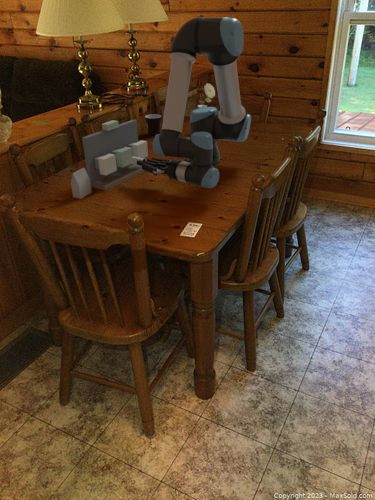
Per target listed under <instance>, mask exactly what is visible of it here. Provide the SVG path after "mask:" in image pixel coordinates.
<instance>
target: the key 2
mask: <svg viewBox="0 0 375 500" xmlns="http://www.w3.org/2000/svg"><path fill="white" fill-rule="evenodd" d="M127 147H130V148H132V155H133V156H135V157H139V158H144V159H146V158H147V157H149V151H148V148H149V147H148V141H147V140H138V142H136V143H135V142H131V143H129V144H127Z"/></svg>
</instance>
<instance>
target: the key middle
mask: <svg viewBox="0 0 375 500" xmlns="http://www.w3.org/2000/svg"><path fill="white" fill-rule="evenodd" d="M111 154H114V155H115V157H116V162H117V166H118V167H122V168H123V167H125V166H128V165H130V164H132V158H131V157H133V156H132V148H130V147H124V148H122V149H118V148H117V149H114V150H112V151H111Z"/></svg>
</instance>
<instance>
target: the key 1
mask: <svg viewBox="0 0 375 500" xmlns="http://www.w3.org/2000/svg"><path fill="white" fill-rule="evenodd" d="M93 159H94V166H95V169H99V170H100V174H102V175H108V174H110V173H112V172H114V171H117V166H116V157H115V155H114V154H107V155H105V156H101V155H99V156H97V157H94V158H93Z"/></svg>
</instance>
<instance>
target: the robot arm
mask: <svg viewBox="0 0 375 500" xmlns="http://www.w3.org/2000/svg"><path fill="white" fill-rule="evenodd" d="M244 39H245V35H244V28H243V26H242V23H241V22H240V21H239V19H237V18H235V17H228V16H224V17H199V16H198V17H193V18H190V19H189V20H187V21H186V22H185V23H184V24H183V25H181V27H180V28H179V29H178V31H177V32H176V34H175V36H174V38H173V40H172V43H171V45H170V50H169V58H170V60H171V63H170V70H169V77H168V84H167V91H166V97H165V105H164V110H163V111H164V112H163V117H162V123H161V130H160V134H157V135H156V136H155V137H153V140H152V150H153V152H154V154H155V155H158V156H163V157H171V158H178V159H168V158H159V157H158V158H157V157H151V158H139V157H135V156H133V157H131V158H132V164H135V165H140V166H142V169H143V170H145V171H144V172H147V173H151V174H152V175H154V177H155V176H158V174H160V175H161V174H162V175H167V177H168V178H169V179H171V180H174V181H179V182H183V183H186V184H191V185H195V186H199V187H202V188H206V189H213V188H215V187H216V186H217V185H218V183H219V180H220V171H219V169H218V168H215V166H214V165H216V164H218V163H219V162H221V154H220V151H219V148H218V144H217V141H218V140H219V141H226V142H227V141H228V142H235V143H238V142H242V143H243V142H245V141H246V140H247V138H248V136H249V132H250V128H251V122H252V116H251V114H249V113H246V112H247V111H246V109H245V107H244V106H243V105H242V101H241V92H240V82H239V76H238V75H239V74H238V66H237V60H239V57H240V55H241V54H242V53H243V49H244V45H245V41H244ZM197 55H206V56H207V60H208V63H209V64H210V65H211V66H212V67H213V72H214V78H215V85H216V90H217V95H218V96H217V97H218V103H219V107H220V109H219V110H218V108H217V107H214V106H207V107H204V108H199V107H198V108H196V109H193V110H192V111H191V112H190V117H189V118H190V121H189V124H190V125H189V127H190V136H182V135H183V127H184V119H185V115H186V107H187V102H188V94H189V90H190V89H189V87H190V81H191V75H192V71H193V70H192V68H193V64H194V63H195V62H196V61H197V60H196V59H197ZM179 158H181V159H186V161H183V160H180V159H179Z"/></svg>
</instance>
